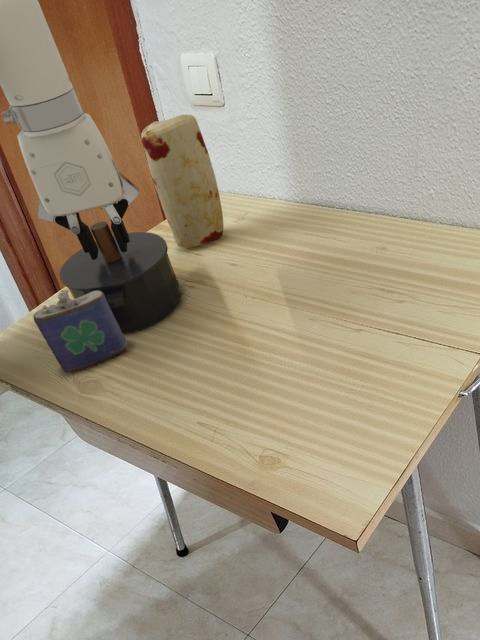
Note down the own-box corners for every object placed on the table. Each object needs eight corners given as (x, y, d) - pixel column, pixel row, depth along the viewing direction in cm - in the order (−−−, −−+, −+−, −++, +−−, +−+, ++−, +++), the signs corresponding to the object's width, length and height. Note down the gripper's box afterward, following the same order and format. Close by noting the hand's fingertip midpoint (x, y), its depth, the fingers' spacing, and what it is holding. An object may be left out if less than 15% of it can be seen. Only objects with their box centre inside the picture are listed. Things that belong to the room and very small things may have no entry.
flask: (127, 342, 83) (95, 275, 75) (131, 352, 81) (98, 285, 73) (62, 366, 81) (23, 300, 73) (65, 378, 79) (24, 311, 71)
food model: (183, 258, 98) (139, 132, 84) (171, 244, 103) (128, 122, 89) (236, 238, 101) (202, 112, 87) (223, 225, 105) (188, 103, 91)
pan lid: (56, 306, 79) (34, 265, 75) (68, 254, 90) (49, 216, 86) (170, 278, 80) (154, 236, 75) (167, 229, 91) (154, 190, 87)
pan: (81, 355, 82) (56, 310, 77) (91, 285, 97) (71, 243, 91) (183, 329, 83) (165, 282, 78) (178, 263, 97) (163, 220, 92)
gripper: (-27, 138, 68) (49, 278, 80) (115, 105, 68) (168, 249, 81) (-14, 119, 73) (55, 254, 86) (117, 88, 74) (166, 226, 86)
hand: (109, 250), depth 83 cm, fingers open, 3 cm apart
